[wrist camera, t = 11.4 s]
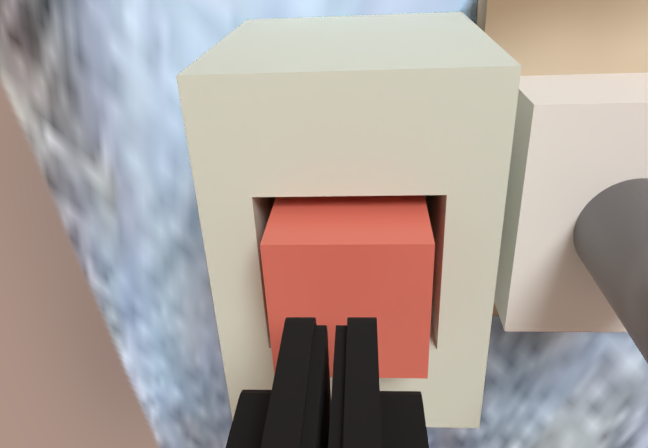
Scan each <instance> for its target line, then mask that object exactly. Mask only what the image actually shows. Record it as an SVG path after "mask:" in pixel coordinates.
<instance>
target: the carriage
mask: <svg viewBox="0 0 648 448" xmlns="http://www.w3.org/2000/svg"><path fill="white" fill-rule="evenodd" d="M494 302H495V305H496V308H497V311H498V314H499V317H500V320H501V323H502V326H503V329H504V331H517V332H628V333H629V335H630V337H631V338H632V340H633V341H634V343H635V344H636V346H637V347H638V349H639V351H640V352H641V354H642V355H643V357H644V358H645V360H646V361H647V363H648V72H646V73H609V74H573V75H536V76H520V84H519V92H518V101H517V109H516V118H515V126H514V135H513V143H512V152H511V161H510V169H509V178H508V186H507V195H506V203H505V212H504V220H503V229H502V237H501V246H500V254H499V263H498V271H497V280H496V288H495V297H494Z"/></svg>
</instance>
